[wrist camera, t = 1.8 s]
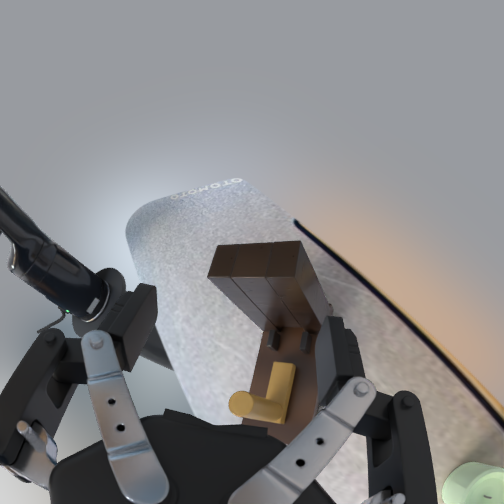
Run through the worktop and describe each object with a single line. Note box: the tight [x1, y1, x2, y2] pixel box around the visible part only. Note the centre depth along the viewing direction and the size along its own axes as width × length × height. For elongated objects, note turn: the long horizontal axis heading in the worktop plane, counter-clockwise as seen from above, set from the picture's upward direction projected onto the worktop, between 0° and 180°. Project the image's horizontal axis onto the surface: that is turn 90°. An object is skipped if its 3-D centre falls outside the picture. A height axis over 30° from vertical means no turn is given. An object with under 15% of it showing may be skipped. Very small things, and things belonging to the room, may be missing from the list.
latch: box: [207, 241, 333, 445], centre depth 24 cm, size 15×7×14 cm, turn 167°
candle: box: [442, 462, 504, 504], centre depth 11 cm, size 5×5×8 cm
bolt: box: [229, 362, 296, 424], centre depth 23 cm, size 6×2×8 cm, turn 167°
